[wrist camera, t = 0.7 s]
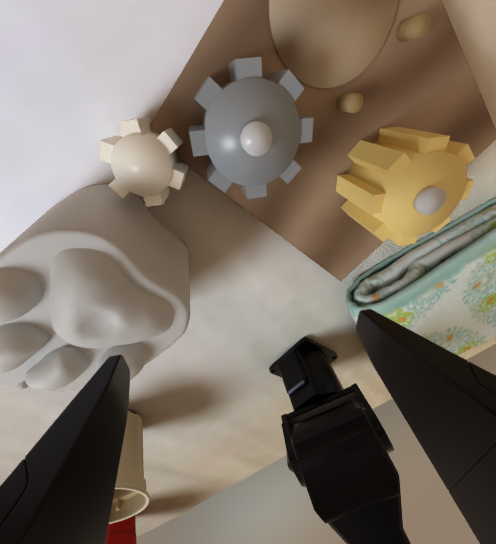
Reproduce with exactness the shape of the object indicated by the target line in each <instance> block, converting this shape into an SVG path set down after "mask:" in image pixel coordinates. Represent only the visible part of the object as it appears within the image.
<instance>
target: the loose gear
mask: <svg viewBox="0 0 496 544" xmlns="http://www.w3.org/2000/svg"><path fill="white" fill-rule="evenodd" d="M449 138H450V136H448V135H443V134H437V133H431V132H425V131H420V130H414V129H408V128H402V127H397V126H396V127H388V128H380V133H379V138H378V141H377V142H375V143H370V142H366V141H363V140H360V141H359V142H358V143H357V144H356V145H355V147H354V148H353V149H352V150H351V151H350V152H349V153H348V154H347V155H348V156H349V157H350V158H351V160H352V161H353V163H352V165H351V166H350V169H349V171H348V174H342V175H337V184H336V192H337V193H339V194H340V195H342V196H343V197H345V198H346V199H348V200H347V201H346V202H345V203H344V204H343V205H342V206H341V208H342V209H343V210H344V211H345V212H346V213H347V214H348V215H349V216H350V217H351V218H353V219H354V220H355V221H357V222H358V223H359V224H360V225H362V226H363V227H364V228H366V229H367V230H368V231H370V232H371V233H372V234H373V235H375V236H376V237H377V238H379V239H380V240H381V241H382V242H384V241H385V240H386V239H387V238H389V239H390V240H392V241H393V242H395V243H396V244H397V245H399V246H404V245H410V244H416V241H417V238H418V236H420V235H423V234H425V233H427V232H429V231H433V232H435V233H437V232H438V231H439V230H440V229H441V228H442V227H444V226H445V225H446V224H447V223H448V222H449V221H450V220H451V219H450V217H449V215H450V214H451V213H452V212H453V211H454V209H455V208H456V206H457V205H458V203H459V202H460V200H464V199H467V197H468V195H469V192H470V190H471V187H472V185H473V182H474V180H472V179H469V178H467V170H466V166H467V165H468V164H469V163H470V162H472V161H473V160H474V159H475V157H474V155H473V153H472V151H471V149H470V147H469V145H468V144H465V143H459V142H454V141H449Z"/></svg>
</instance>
